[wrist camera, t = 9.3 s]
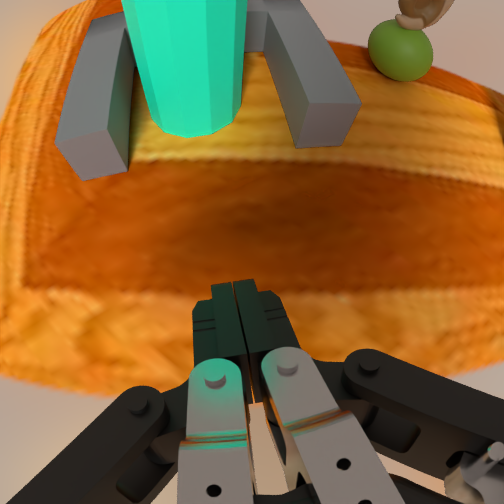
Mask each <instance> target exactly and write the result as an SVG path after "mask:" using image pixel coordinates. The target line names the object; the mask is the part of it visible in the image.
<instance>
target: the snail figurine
mask: <svg viewBox="0 0 504 504" xmlns="http://www.w3.org/2000/svg"><path fill="white" fill-rule="evenodd" d="M453 2H454V0H399V1H398V4H399V8H400V11H401V13H402V15H400V14H397V15H396V16H395V19H393V20H388V21H384V22H382V23H380V24H379V25H377V26H376V27H375V28H374V29H373V31H372V32H371V34H370V37H369V40H368V52H369V55H370V58H371V60H372V62H373V64H374V65H375V66H376V68H377V69H378V70H379V71H380V72H381V73H383V74H384V75H386V76H387V77H389V78H391V79H394V80H397V81H404V82H408V81H414V80H417V79H419V78H421V77H422V76H424V75H425V74H426V73H427V72H428V70H429V69H430V67H431V65H432V61H433V49H432V46H431V43H430V41H429V39H428V38H427V36H426V35H425V33H424V32H423V31H422V29H424V28H426V27H428V26H431V25H433V24H435V23H436V22H438V21H439V19H440V18H441V17H442V16H443V15H444V14H445V13H446V12H447V11H448V9H449V8H450V7H451V5H452V4H453Z"/></svg>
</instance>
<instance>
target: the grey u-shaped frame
mask: <svg viewBox="0 0 504 504" xmlns="http://www.w3.org/2000/svg"><path fill="white" fill-rule="evenodd" d="M261 51H263V53H264V55H265V58H266V61H267V64H268V66H269V69H270V72H271V75H272V78H273V80H274V83H275V86H276V89H277V92H278V95H279V98H280V101H281V104H282V107H283V110H284V113H285V116H286V119H287V122H288V125H289V128H290V131H291V135H292V138H293V141H294V144H295V148H308V147H325V146H341V145H342V143H343V141H344V139H345V137H346V135H347V133H348V131H349V129H350V127H351V125H352V123H353V121H354V119H355V117H356V115H357V113H358V111H359V109H360V107H361V105H362V103H361V101H360V99H359V97H358V95H357V93H356V91H355V89H354V87H353V85H352V84H351V82H350V80H349V78H348V76H347V74H346V73H345V71H344V69H343V67H342V66H341V64H340V62H339V60H338V59H337V57H336V55H335V53H334V52H333V50H332V48H331V47H330V45H329V44H328V42H327V40H326V39H325V37H324V36H323V34H322V32H321V31H320V29H319V28H318V27H317V25H316V23H315V22H314V20H313V19H312V17H311V16H310V14H309V13H308V11H307V10H306V8H305V7H304V6H303V4H302V3H301V1H300V0H247V14H246V28H245V43H244V52H261ZM135 67H137V63H136V59H135V55H134V51H133V47H132V43H131V39H130V35H129V31H128V27H127V23H126V18H125V14H124V11H123V12H119V13H115V14H111V15H107V16H104V17H100V18H97V19H93V20H92V21H91V24H90V26H89V29H88V31H87V34H86V36H85V39H84V42H83V44H82V47H81V50H80V53H79V55H78V58H77V61H76V64H75V67H74V70H73V73H72V77H71V80H70V83H69V87H68V90H67V94H66V97H65V101H64V105H63V109H62V113H61V117H60V121H59V125H58V130H57V134H56V139H55V145H56V146H57V147H58V149H59V150H60V152H61V153H62V154H63V156H64V157H65V158H66V160H67V161H68V163H69V164H70V165H71V167H72V168H73V169H74V171H75V172H76V173H77V175H78V176H79V177H80V179H81V180H82V181H85V180H89V179H94V178H98V177H102V176H107V175H112V174H116V173H121V172H126V171H128V145H129V125H130V110H131V97H132V86H133V77H134V68H135Z"/></svg>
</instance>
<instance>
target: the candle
mask: <svg viewBox="0 0 504 504" xmlns="http://www.w3.org/2000/svg"><path fill="white" fill-rule="evenodd" d="M122 5H123V9H124V14H125V18H126V23H127V27H128V31H129V35H130V39H131V43H132V47H133V51H134V55H135V59H136V63H137V67H138V71H139V75H140V78H141V82H142V86H143V89H144V93H145V97H146V100H147V104H148V107H149V111H150V114H151V118H152V120H153V121H154V122H155V123H156V124H157V125H158V126H159V127H160V128H161V129H162V130H163V131H164V132H165V133H169V134H173V135H177V136H181V137H185V138H190V137H196V136H203V135H210V134H213V133H215V132H216V131H218V130H220V129H221V128H223V127H225V126H226V125H228V124H230V123H231V122H232V121H233V119H234V118H235V116H236V114H237V112H238V110H239V108H240V106H241V93H242V75H243V59H244V43H245V28H246V14H247V0H122Z"/></svg>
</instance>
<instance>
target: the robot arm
mask: <svg viewBox="0 0 504 504" xmlns="http://www.w3.org/2000/svg"><path fill="white" fill-rule="evenodd" d="M233 289H234V293H233ZM211 291H212V299H210V300H203V301H198V302H197V304H196V306H195V307H194V309H193V311H192V320H193V349H194V369H193V370H192V371H191V373H190V376H189V379H188V380H187V381H186V382H184V383H183V384H182V385H180V386H178V387H176V388H174V389H171V390H168V391H166V392H163V393H160V392H159V391H158V390H156V389H155V388H153V387H149V386H135V387H132V388H130V389H128V390H126V391H124V392H123V393H122V394H121V395H120V396H119V397H118V398H117V399H116V400H115V401H114V402H112V403H111V404H110V405H109V406H108V407H107V408H106V409H105V410H104V411H103V412H102V413H101V414H100V415H99V416H98V417H97V418H96V419H95V420H94V421H93V422H92V423H91V424H90V425H89V426H88V427H87V428H85V429H84V430H83V431H82V432H81V433H80V434H79V435H78V436H77V437H76V438H75V439H74V440H73V441H72V442H71V443H70V444H69V445H68V446H67V447H66V448H65V449H64V450H62V451H61V452H60V453H59V454H58V455H57V456H56V457H55V458H54V459H53V460H52V461H51V462H50V463H49V464H48V465H47V466H46V467H45V468H43V469H42V470H41V471H40V472H39V473H38V474H37V475H36V476H35V477H34V478H33V479H32V480H31V481H30V482H29V483H28V484H27V485H25V486H24V487H23V489H21V490H20V491H19V492H18V493H17V494H16V495H15V496H14V497H13V498H12V499H10V501H8V502H7V503H6V504H151V502H152V501H153V500H154V499H155V498H156V497H157V495H158V494H159V493H160V492H161V491H162V490H163V488H164V487H165V486H166V485H167V484H168V483H169V481H170V480H171V479H172V478H173V477H174V475H175V474H176V473H177V472H178V486H177V504H504V400H503V399H501V398H498V397H495V396H492V395H490V394H487V393H484V392H482V391H479V390H476V389H473V388H471V387H468V386H466V385H463V384H460V383H458V382H455V381H452V380H450V379H447V378H445V377H442V376H440V375H437V374H435V373H432V372H429V371H427V370H424V369H422V368H419V367H417V366H414V365H412V364H410V363H407V362H405V361H402V360H400V359H397V358H395V357H392V356H390V355H388V354H385V353H383V352H380V351H378V350H374V349H360V350H356V351H354V352H352V353H351V354H349V355H348V356H347V358H346V359H345V362H323V361H318V360H315V359H313V358H311V357H310V355H309V354H308V353H306V352H305V351H303V350H302V349H301V347H300V345H299V343H298V340H297V338H296V335H295V333H294V331H293V328H292V326H291V323H290V321H289V319H288V317H287V314H286V311H285V309H284V307H283V304H282V302H281V300H280V297H278V296H277V295H276V294H275V293H273V292H272V291H271V290H268V291H262V292H258V291H257V288H256V285H255V282H254V279H247V280H241V281H234V282H233V288H232V283H231V282H228V283H221V284H214V285H211ZM251 386H252V390H251ZM252 391H253V395H254V399H255V403H258V402H263V406H264V410H265V416H266V423H267V426H268V429H269V432H270V435H271V437H272V440H273V443H274V446H275V449H276V451H277V454H278V457H279V460H280V462H281V465H282V468H283V471H284V474H285V479H286V483H287V487H288V490H289V492H287V493H285V494H282V495H258V492H257V485H256V479H255V471H254V462H253V453H252V445H251V436H250V427H249V424H250V413H249V406H248V404H253V398H252ZM375 451H376V452H378V453H380V454H382V455H384V456H387V457H389V458H391V459H393V460H395V461H397V462H400V463H402V464H404V465H407V466H409V467H411V468H414V469H416V470H418V471H421V472H423V473H426V474H428V475H431V476H433V477H436V478H438V479H441V480H443V481H444V487H445V494H446V495H447V497H446V496H444V495H441V494H439V493H436V492H434V491H432V490H430V489H427V488H425V487H423V486H421V485H418V484H416V483H414V482H412V481H410V480H408V479H406V478H403V477H401V476H397V475H394V474H390V473H388V472H387V471H386V469H385V467H384V466H383V464H382V462H381V461H380V459H379V457H378V455H377V453H376V452H375ZM451 498H452V499H451Z"/></svg>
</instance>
